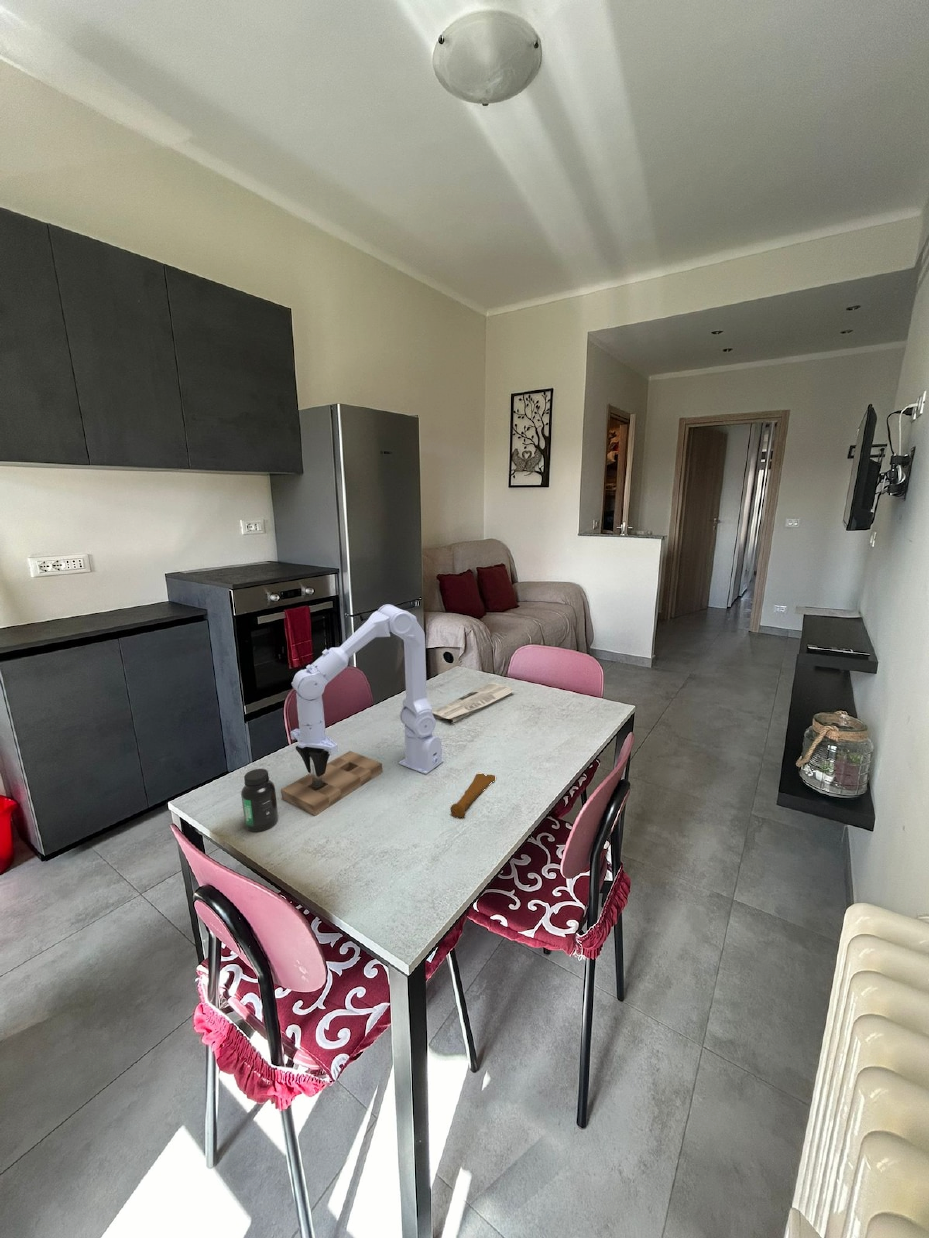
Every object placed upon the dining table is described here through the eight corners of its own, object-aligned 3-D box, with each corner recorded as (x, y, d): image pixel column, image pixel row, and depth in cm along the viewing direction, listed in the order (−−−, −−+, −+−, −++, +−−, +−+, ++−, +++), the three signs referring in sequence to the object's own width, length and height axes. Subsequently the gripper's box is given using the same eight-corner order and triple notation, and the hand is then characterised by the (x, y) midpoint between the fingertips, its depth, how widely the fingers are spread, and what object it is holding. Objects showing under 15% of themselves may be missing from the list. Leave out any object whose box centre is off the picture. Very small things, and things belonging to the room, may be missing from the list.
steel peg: (325, 783, 119) (322, 753, 117) (317, 788, 117) (314, 758, 115) (318, 780, 121) (315, 750, 119) (309, 785, 119) (306, 755, 117)
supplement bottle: (249, 836, 105) (242, 786, 102) (242, 820, 110) (235, 772, 107) (282, 824, 109) (276, 775, 106) (273, 809, 114) (268, 762, 111)
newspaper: (489, 686, 187) (489, 678, 186) (517, 694, 180) (517, 685, 179) (426, 719, 160) (425, 709, 160) (455, 729, 153) (455, 719, 152)
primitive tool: (477, 774, 128) (477, 762, 127) (498, 778, 126) (498, 766, 125) (448, 817, 111) (448, 804, 110) (471, 823, 109) (471, 809, 108)
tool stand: (382, 771, 129) (382, 763, 128) (315, 815, 111) (314, 806, 111) (350, 758, 136) (349, 750, 135) (281, 798, 118) (280, 789, 117)
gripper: (277, 719, 116) (283, 771, 119) (318, 735, 108) (323, 790, 111) (302, 708, 121) (307, 758, 125) (343, 722, 113) (347, 775, 117)
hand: (316, 772), depth 118 cm, fingers closed on steel peg, 3 cm apart
